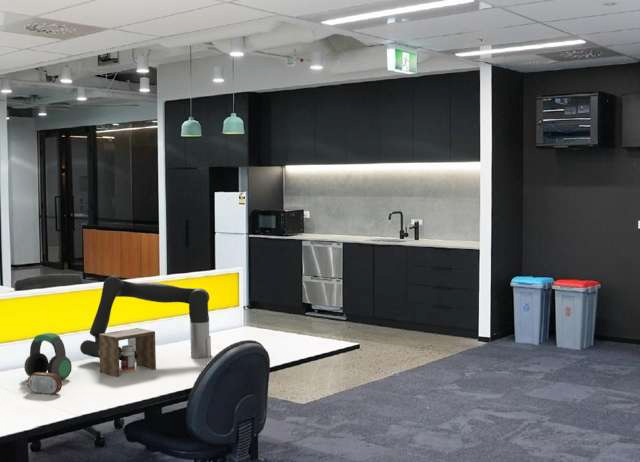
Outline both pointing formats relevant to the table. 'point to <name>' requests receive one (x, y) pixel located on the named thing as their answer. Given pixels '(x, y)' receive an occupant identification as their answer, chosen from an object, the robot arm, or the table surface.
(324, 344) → the table surface
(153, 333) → the tunnel
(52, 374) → the tin
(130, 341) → the ink box
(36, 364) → the headphones
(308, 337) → the table surface
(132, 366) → the pill bottle
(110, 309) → the robot arm
